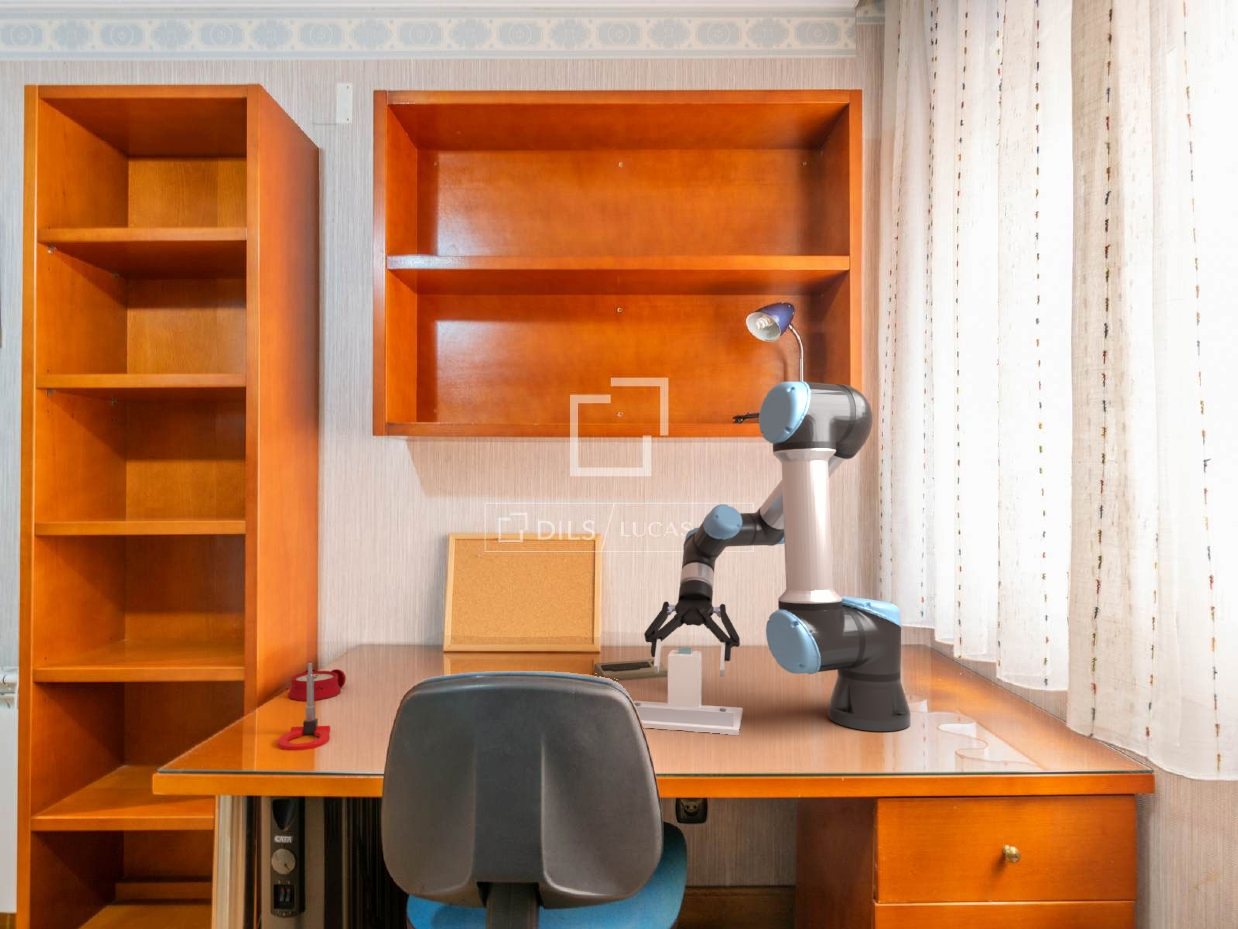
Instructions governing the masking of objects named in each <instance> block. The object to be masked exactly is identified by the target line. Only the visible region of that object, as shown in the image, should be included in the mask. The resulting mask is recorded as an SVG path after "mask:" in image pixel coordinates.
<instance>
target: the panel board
mask: <svg viewBox="0 0 1238 929" xmlns="http://www.w3.org/2000/svg"><path fill="white" fill-rule="evenodd" d="M633 701H634V704H635V705H636V707H637V711H638V712H639V715H640V719H641V721H642V722H643V726H644V729H645V726H647V727H654V728H661V729H678V730H688V731H695V732H694V733H698V732H710V733H709V734H712V733H720V734H719V735H725V734H728V735H729V736H739V733H740V730H741V729H740V728H741V723H742V718H743V711H744V708H743V707H737V706H736V707H735V706H720V705H719V706H718V705H709V704H708V705H706V704H705V705H703V704H701V708H697V707H682V706H668V702H661V701H659V702H658V701H644V700H643V701H642V700H633ZM739 729H740V730H739Z"/></svg>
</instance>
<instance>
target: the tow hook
mask: <svg viewBox="0 0 1238 929" xmlns="http://www.w3.org/2000/svg"><path fill="white" fill-rule="evenodd" d="M312 669H313V663H312V662H308V663H307V670H308V675H307V702H306V706H305V719H304V720H303V722H302V723H303V725H302V726H291V727H290V732H287V733H285V734H283V735H281V736H280V737H279V738H278V739H277V747H278V748H279V749H281V750H284V751H285V750H286V751H305V750H312V749H315V748H319V747H321V746H324V745H325V744H327V743H328V742H329V741H330V738H331V734H330V733H331V725H319V724H318V723H319V722H318V718H316V705H315V700H314V675H313V670H312ZM303 735H304V736H313V735H314V736H315V737H318V738H316V739H315V740H313V741H312V740H311V741H309V742H300V743H297V742H296V743H295V742H294V743H293V742H289V741H291V740H292V739H296V738H299V737H302V736H303Z"/></svg>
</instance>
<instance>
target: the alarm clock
mask: <svg viewBox="0 0 1238 929" xmlns="http://www.w3.org/2000/svg"><path fill="white" fill-rule="evenodd" d="M312 670H313V675H314V701H317V700H324V699H329V698H332V697H336V696H337V695H340V694H341V688H343V687H344V686H345V684H346V679H347V678H346V674H345V672H344V670H341V669H339V668H337V669H332V670H317V669H313V668H312ZM307 675H308V669H307V670H305V671H304V672H302V673H298V674H294V675H293V676H292V677H291V680H290V683H291V685H290V686H289V687H288V686H287V687H286V688H285V690H287V691H289V692H288V693H287V697H288V698H289V699H291V700H296V701H302V702H306V703H307Z"/></svg>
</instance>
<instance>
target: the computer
mask: <svg viewBox="0 0 1238 929" xmlns="http://www.w3.org/2000/svg"><path fill="white" fill-rule="evenodd" d="M654 660H655V658H649V659H647V658H646V659H636V660H623V661H608V662H607V661H606V662H596V663H594V665H593V673H594V672H595V673H597V674H594V675H595V676H596V675H598V676H601V677H605V678H610V679H612V680H615V681H625V679H628V680H635V679H636V680H637V679H638V680H640V679H649V678H650V679H651V678H663V677H664V678H665V677H668V667H666V666H665V665H664V664H663V663H662V662H661V661H660V665H659V673H655V670H654ZM614 678H615V679H614ZM639 678H640V679H639ZM616 679H618V680H616ZM622 679H623V680H622ZM615 681H614V682H615Z"/></svg>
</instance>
